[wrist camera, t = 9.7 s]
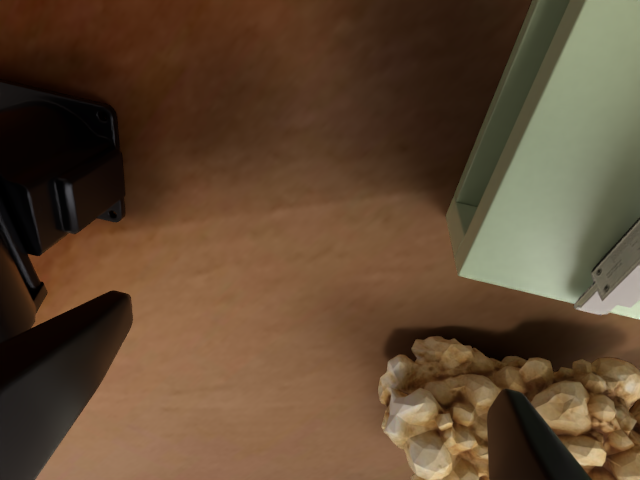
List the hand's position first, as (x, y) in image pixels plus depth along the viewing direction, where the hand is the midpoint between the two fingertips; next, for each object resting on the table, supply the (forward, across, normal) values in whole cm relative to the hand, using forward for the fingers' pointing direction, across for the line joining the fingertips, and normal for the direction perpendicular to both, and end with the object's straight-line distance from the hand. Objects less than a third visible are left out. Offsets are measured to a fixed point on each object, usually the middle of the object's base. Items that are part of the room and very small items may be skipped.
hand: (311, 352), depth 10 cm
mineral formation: (+12, -13, +12) cm, 21 cm away
